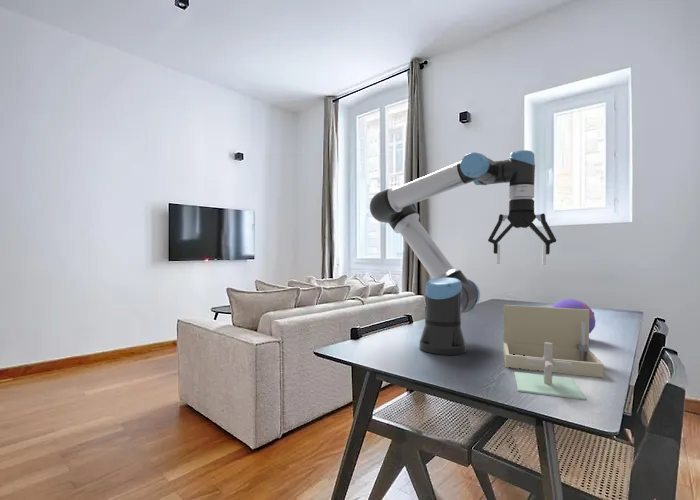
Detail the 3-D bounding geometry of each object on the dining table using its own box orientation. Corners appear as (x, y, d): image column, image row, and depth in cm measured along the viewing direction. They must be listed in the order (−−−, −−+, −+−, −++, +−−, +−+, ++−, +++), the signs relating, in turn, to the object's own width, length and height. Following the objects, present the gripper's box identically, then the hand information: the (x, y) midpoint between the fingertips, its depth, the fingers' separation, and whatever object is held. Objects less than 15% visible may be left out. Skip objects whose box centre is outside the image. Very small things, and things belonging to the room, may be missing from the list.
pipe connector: (568, 380, 98) (568, 340, 98) (573, 393, 88) (574, 350, 88) (525, 374, 102) (525, 336, 102) (526, 386, 92) (526, 345, 92)
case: (505, 367, 109) (506, 312, 109) (503, 352, 125) (503, 304, 125) (603, 377, 101) (604, 319, 101) (587, 360, 117) (588, 309, 117)
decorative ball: (604, 344, 137) (604, 302, 137) (561, 343, 137) (562, 301, 137) (579, 334, 152) (580, 296, 152) (541, 334, 152) (542, 296, 152)
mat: (518, 391, 91) (518, 389, 91) (514, 373, 104) (514, 371, 104) (586, 400, 86) (586, 398, 86) (573, 379, 99) (573, 378, 99)
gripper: (481, 199, 126) (480, 263, 126) (567, 196, 117) (566, 265, 117) (481, 201, 133) (480, 262, 133) (562, 199, 124) (561, 264, 124)
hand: (520, 264), depth 125 cm, fingers open, 13 cm apart
